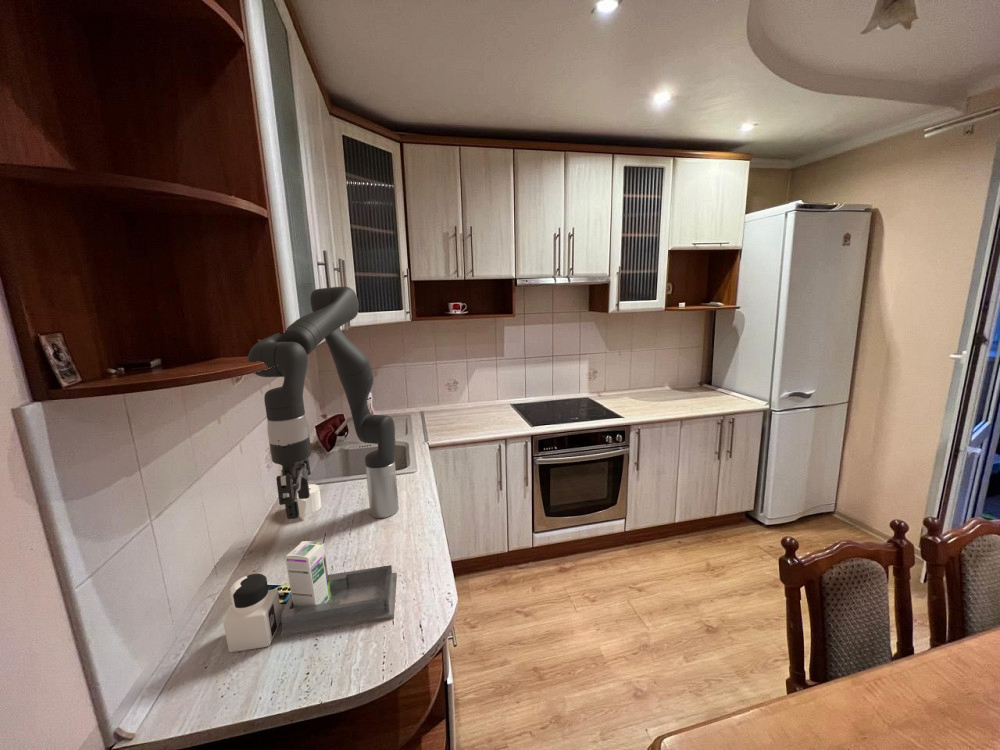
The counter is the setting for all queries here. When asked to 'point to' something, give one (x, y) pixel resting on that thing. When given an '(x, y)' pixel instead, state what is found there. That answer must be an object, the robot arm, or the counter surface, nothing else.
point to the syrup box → (308, 574)
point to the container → (252, 614)
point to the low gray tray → (346, 602)
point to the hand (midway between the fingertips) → (299, 507)
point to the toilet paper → (309, 501)
